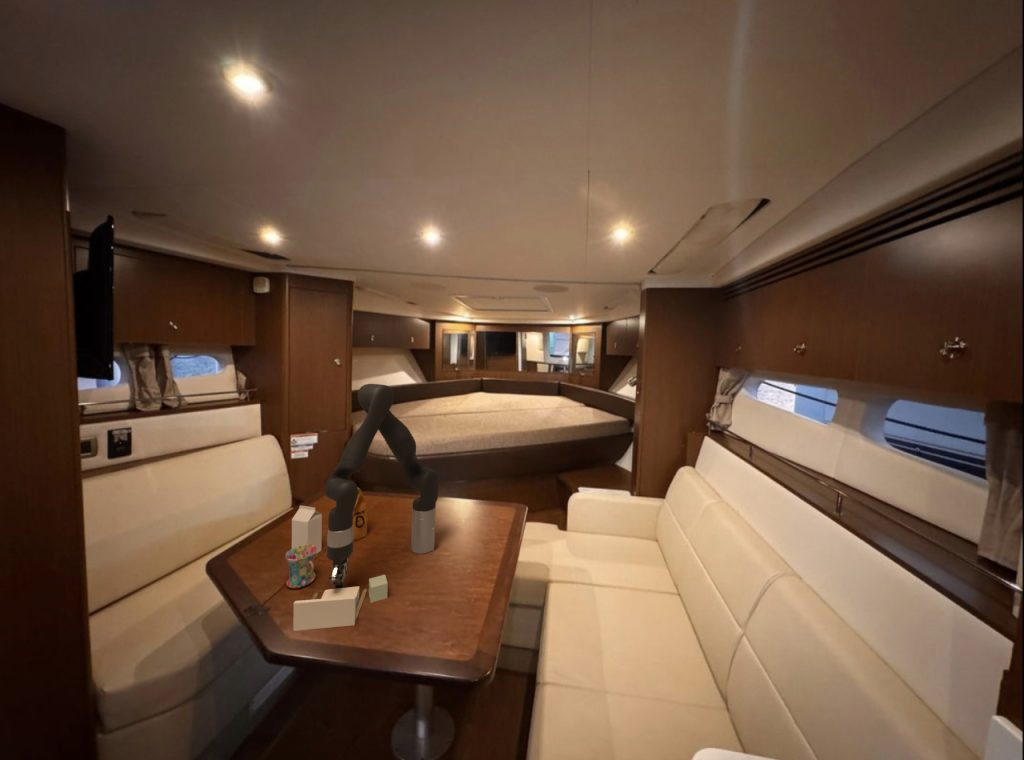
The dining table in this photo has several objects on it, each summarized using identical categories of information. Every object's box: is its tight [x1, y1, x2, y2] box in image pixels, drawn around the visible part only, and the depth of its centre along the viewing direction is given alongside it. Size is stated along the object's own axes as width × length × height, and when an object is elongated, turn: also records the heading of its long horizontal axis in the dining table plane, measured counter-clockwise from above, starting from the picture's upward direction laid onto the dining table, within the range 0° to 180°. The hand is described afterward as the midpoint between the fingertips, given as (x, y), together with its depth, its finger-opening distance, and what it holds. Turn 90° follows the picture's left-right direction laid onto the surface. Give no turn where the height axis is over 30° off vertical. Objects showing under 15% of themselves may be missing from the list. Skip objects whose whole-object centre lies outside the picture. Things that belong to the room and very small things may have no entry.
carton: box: [320, 585, 360, 610], centre depth 102 cm, size 10×8×4 cm
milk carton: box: [291, 505, 323, 556], centre depth 129 cm, size 7×7×19 cm
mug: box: [284, 545, 317, 589], centre depth 112 cm, size 12×9×11 cm
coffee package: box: [353, 486, 369, 543], centre depth 144 cm, size 10×12×22 cm
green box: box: [368, 574, 389, 604], centre depth 108 cm, size 5×5×5 cm
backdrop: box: [292, 596, 356, 632], centre depth 95 cm, size 16×1×8 cm, turn 100°
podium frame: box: [310, 588, 368, 622], centre depth 102 cm, size 16×13×1 cm
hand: (339, 592), depth 107 cm, fingers closed
